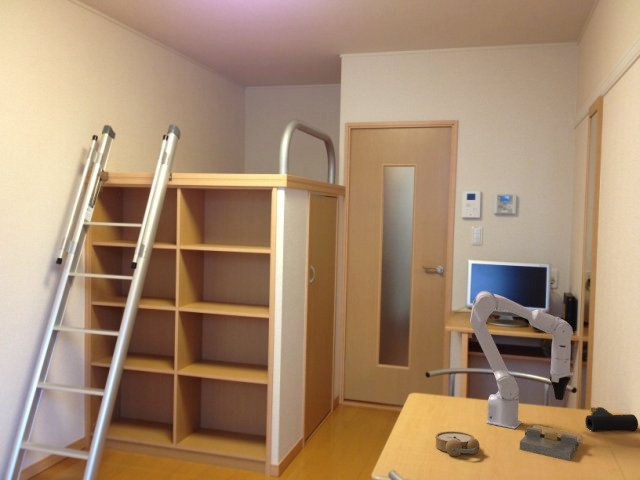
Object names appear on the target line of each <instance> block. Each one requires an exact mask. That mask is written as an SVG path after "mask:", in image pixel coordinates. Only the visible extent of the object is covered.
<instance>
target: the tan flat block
mask: <svg viewBox="0 0 640 480" xmlns="http://www.w3.org/2000/svg"><path fill="white" fill-rule="evenodd" d="M531 427H532V428H537V429H542V438H546V439H550V440H555V441H560V442H561V435H562V434H567V435H571V436H576V437H577V442H579V446H578V447H577V451H578V450H579V448H580V446H581V445H582V444H583V440H582V439H583V435H582V433H578V432H571V431H568V430H563V429H557V428H552V427H548V426H542V425H538V424H534V425H533V426H531Z"/></svg>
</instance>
